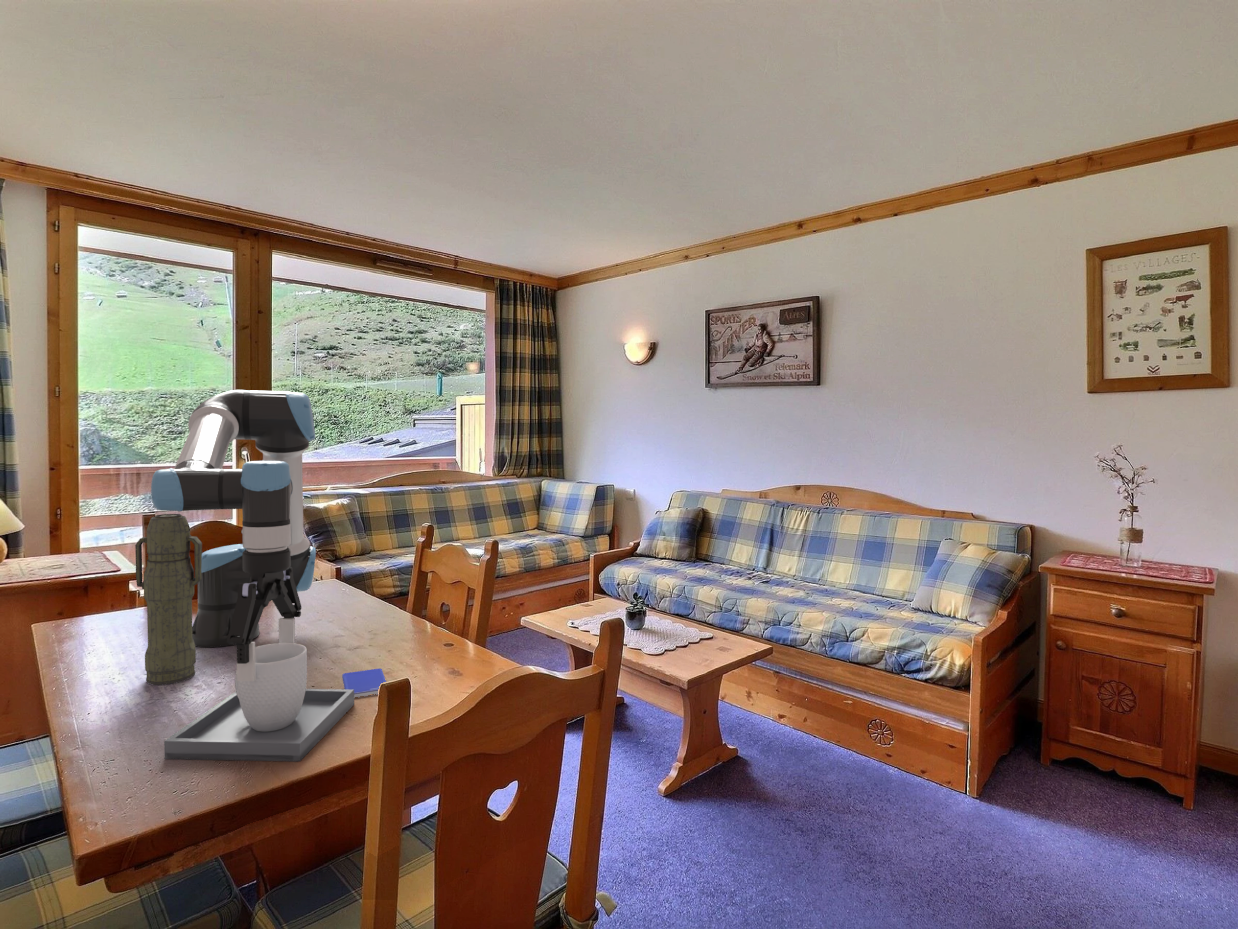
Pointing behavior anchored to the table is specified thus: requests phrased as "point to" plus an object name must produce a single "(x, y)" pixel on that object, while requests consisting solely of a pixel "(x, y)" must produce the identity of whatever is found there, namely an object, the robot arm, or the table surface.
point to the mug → (274, 686)
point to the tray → (235, 739)
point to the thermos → (169, 597)
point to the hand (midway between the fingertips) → (267, 665)
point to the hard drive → (363, 681)
